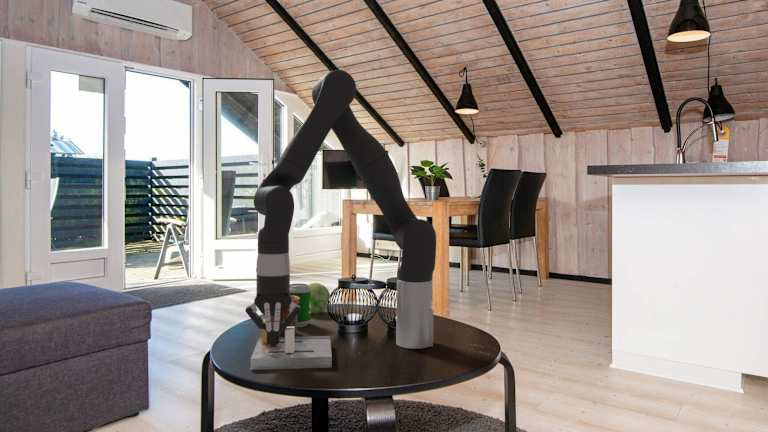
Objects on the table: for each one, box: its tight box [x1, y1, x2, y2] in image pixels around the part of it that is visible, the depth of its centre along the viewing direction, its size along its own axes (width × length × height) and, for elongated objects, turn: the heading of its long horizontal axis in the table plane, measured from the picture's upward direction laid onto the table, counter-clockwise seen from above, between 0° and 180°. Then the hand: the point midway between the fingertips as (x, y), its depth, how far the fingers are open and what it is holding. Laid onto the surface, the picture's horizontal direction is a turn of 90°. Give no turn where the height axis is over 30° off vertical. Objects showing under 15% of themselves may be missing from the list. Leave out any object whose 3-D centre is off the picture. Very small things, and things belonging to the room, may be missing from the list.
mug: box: [272, 295, 300, 337], centre depth 143 cm, size 12×9×10 cm
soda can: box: [290, 283, 312, 328], centre depth 155 cm, size 8×8×12 cm
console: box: [250, 335, 333, 371], centre depth 125 cm, size 18×17×3 cm
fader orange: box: [261, 318, 267, 344], centre depth 128 cm, size 2×4×5 cm, turn 7°
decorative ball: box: [307, 282, 331, 314], centre depth 171 cm, size 10×10×10 cm
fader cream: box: [285, 326, 296, 353], centre depth 121 cm, size 2×4×5 cm, turn 7°
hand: (273, 346), depth 120 cm, fingers closed
